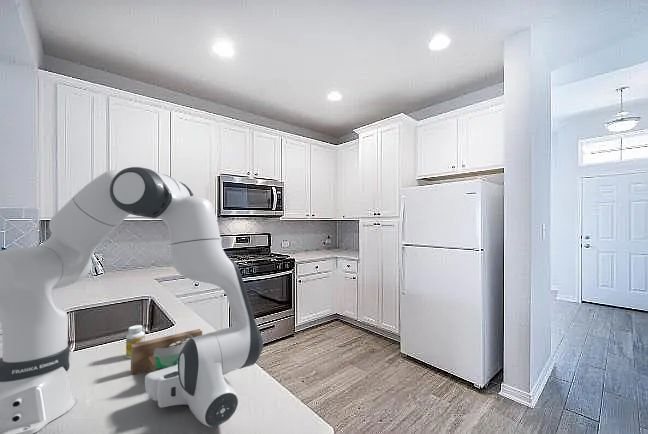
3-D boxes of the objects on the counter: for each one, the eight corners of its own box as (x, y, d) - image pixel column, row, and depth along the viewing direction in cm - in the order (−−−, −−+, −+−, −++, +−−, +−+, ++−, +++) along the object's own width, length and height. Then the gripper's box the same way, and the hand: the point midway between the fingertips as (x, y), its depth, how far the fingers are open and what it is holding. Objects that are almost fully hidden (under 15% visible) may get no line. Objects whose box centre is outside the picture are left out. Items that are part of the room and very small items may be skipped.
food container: (170, 389, 78) (169, 351, 79) (153, 386, 80) (153, 348, 81) (204, 368, 90) (203, 335, 90) (189, 366, 92) (188, 333, 92)
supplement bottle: (148, 352, 102) (148, 324, 103) (137, 359, 97) (137, 329, 97) (133, 351, 103) (133, 324, 103) (122, 358, 97) (122, 329, 98)
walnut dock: (138, 389, 79) (138, 358, 79) (130, 371, 89) (130, 344, 89) (213, 365, 92) (213, 339, 92) (199, 352, 102) (199, 328, 102)
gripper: (237, 355, 80) (218, 341, 90) (151, 382, 67) (140, 361, 77) (237, 379, 80) (218, 362, 90) (151, 411, 66) (140, 386, 77)
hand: (182, 362), depth 83 cm, fingers closed
